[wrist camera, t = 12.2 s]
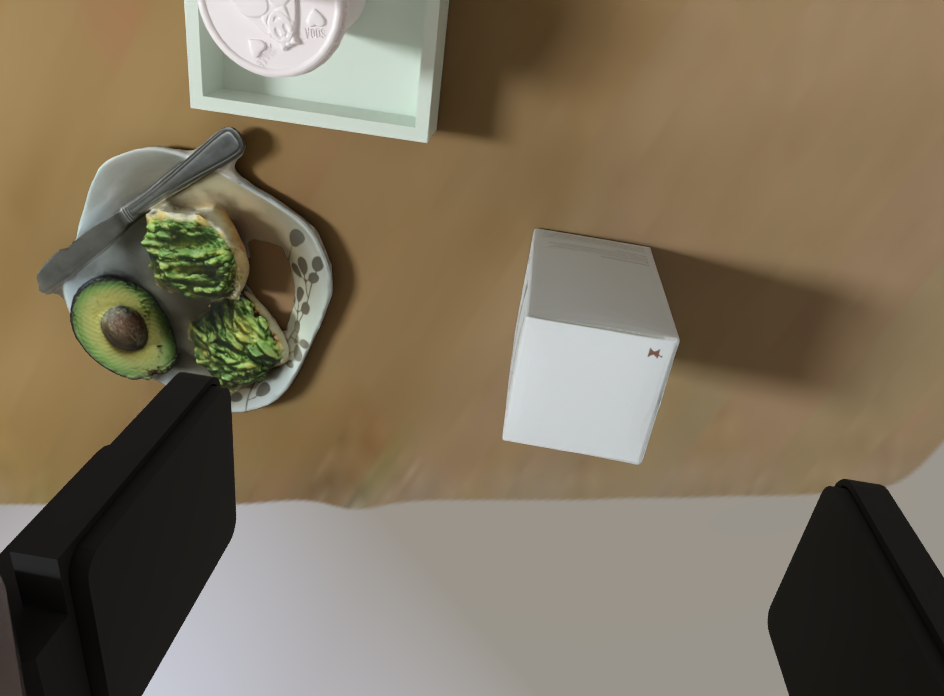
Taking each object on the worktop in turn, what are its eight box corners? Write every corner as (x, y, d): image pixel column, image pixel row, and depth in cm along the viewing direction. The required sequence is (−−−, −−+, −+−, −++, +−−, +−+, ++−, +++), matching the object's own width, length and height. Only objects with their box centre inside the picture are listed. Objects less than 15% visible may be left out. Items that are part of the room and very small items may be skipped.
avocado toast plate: (120, 49, 42) (73, 57, 38) (389, 209, 45) (373, 232, 40) (41, 305, 50) (-4, 334, 46) (270, 426, 53) (247, 463, 49)
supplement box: (532, 224, 44) (524, 310, 33) (653, 245, 44) (687, 340, 32) (511, 331, 47) (497, 442, 36) (623, 351, 47) (644, 469, 36)
